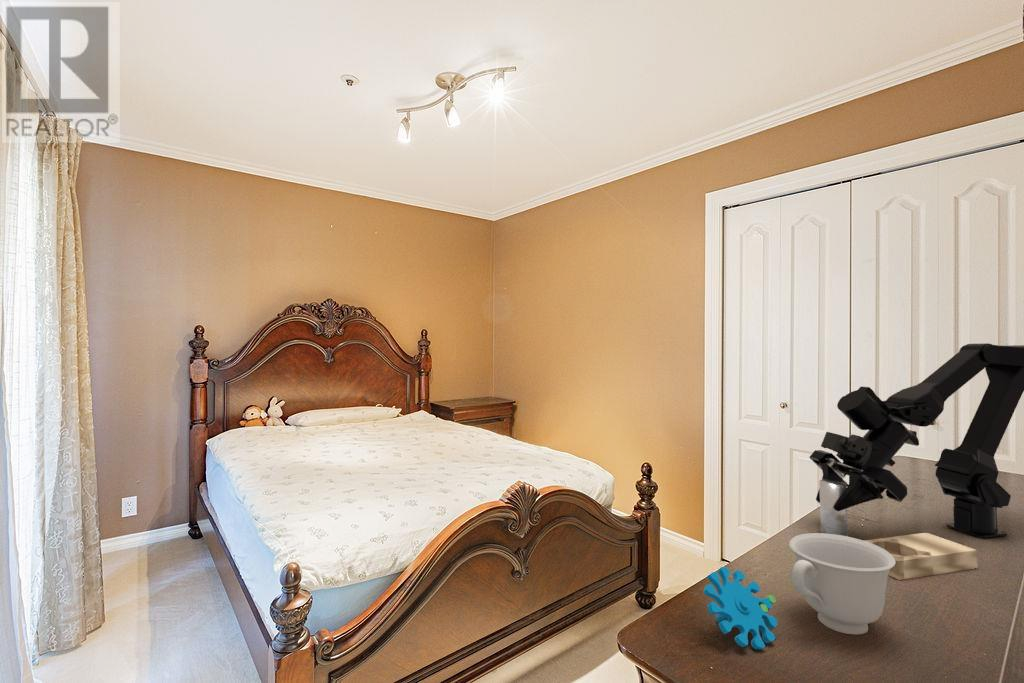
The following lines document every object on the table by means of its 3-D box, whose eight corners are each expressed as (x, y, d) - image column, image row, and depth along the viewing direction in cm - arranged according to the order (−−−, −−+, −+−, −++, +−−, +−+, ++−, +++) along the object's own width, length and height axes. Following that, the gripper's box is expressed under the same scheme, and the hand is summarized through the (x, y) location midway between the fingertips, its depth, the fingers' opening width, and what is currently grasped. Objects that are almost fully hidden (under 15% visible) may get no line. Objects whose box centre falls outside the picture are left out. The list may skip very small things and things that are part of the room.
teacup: (757, 616, 68) (755, 545, 68) (827, 592, 74) (825, 527, 74) (845, 667, 57) (842, 582, 57) (919, 634, 63) (916, 557, 63)
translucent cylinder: (834, 533, 96) (832, 478, 96) (854, 542, 92) (852, 484, 92) (815, 536, 95) (813, 480, 96) (834, 544, 91) (832, 486, 91)
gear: (732, 649, 58) (697, 565, 65) (705, 664, 62) (674, 583, 69) (801, 642, 62) (760, 563, 69) (772, 656, 65) (736, 580, 73)
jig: (927, 548, 88) (926, 532, 88) (977, 568, 80) (976, 550, 80) (854, 558, 85) (853, 541, 85) (898, 579, 77) (897, 561, 77)
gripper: (816, 411, 104) (768, 465, 103) (889, 425, 85) (831, 491, 84) (852, 447, 104) (805, 501, 103) (933, 468, 85) (876, 534, 85)
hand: (826, 505), depth 94 cm, fingers closed on translucent cylinder, 4 cm apart
